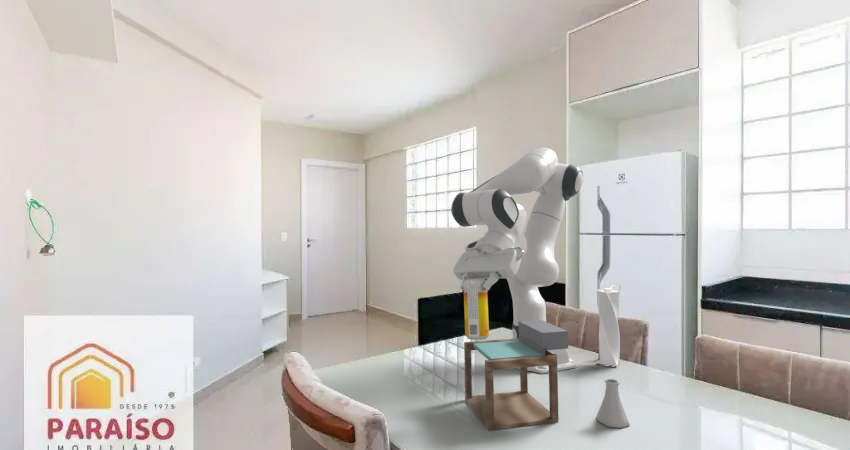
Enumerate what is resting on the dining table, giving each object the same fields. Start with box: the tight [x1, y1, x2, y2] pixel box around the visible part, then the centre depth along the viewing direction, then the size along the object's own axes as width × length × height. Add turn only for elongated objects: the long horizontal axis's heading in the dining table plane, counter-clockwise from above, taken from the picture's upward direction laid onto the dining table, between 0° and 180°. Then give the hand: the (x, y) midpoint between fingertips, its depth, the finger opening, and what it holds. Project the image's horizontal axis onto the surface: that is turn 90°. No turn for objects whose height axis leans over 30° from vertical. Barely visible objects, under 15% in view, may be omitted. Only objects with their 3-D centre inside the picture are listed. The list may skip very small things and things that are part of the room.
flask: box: [596, 378, 631, 429], centre depth 99 cm, size 7×7×10 cm
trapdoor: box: [473, 320, 569, 360], centre depth 107 cm, size 20×14×6 cm
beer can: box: [463, 279, 490, 341], centre depth 105 cm, size 6×6×15 cm
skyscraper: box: [595, 283, 622, 367], centre depth 142 cm, size 8×8×28 cm
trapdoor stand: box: [463, 338, 559, 431], centre depth 107 cm, size 18×18×16 cm
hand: (473, 289), depth 105 cm, fingers closed on beer can, 6 cm apart
